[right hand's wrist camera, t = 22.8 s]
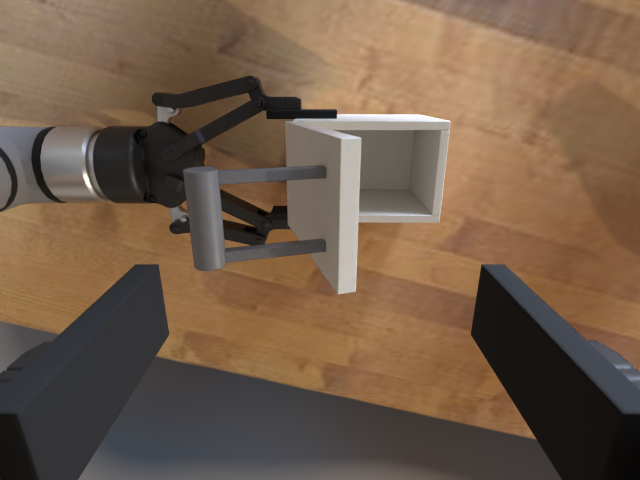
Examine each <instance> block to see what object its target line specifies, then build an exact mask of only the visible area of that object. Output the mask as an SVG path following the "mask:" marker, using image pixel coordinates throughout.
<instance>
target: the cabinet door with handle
mask: <svg viewBox="0 0 640 480" xmlns="http://www.w3.org/2000/svg"><path fill="white" fill-rule="evenodd" d="M285 141H286V167H275V168H255V169H235V170H218V169H217V168H215V167H192V168H187V169H184V170H183V175H184V184H185V192H186V200H187V209H188V217H189V225H190V234H191V242H192V251H193V259H194V267H195V268H196V269H197V270H201V271H213V270H217V269H220V268H222V267H224V266H225V265H226V263H228V262H237V261H246V260H255V259H264V258H273V257H282V256H291V255H300V254H309V255H310V256H311V258H312V259H313V261H314V262H315V263H316V265H317V266H318V268H319V269H320V270H321V272H322V273H323V274H324V276H325V277H326V279H327V280H328V281H329V283H330V284H331V286H332V287H333V288H334V290H335V291H336V293H337V294H344V293H351V292H356V270H357V243H358V215H359V188H360V160H361V138H360V137H356V136H352V135H349V134H345V133H341V132H337V131H333V130H330V129H326V128H322V127H318V126H314V125H311V124H307V123H303V122H299V121H285ZM272 181H287V211H288V226H289V227H290V229H291V230H292V231H293V233H294V234H295V236H296V237H297V238H298V240H299V241H292V242H283V243H273V244H263V245H253V246H243V247H234V248H225V243H224V231H223V220H222V209H221V197H220V186H219V185H222V184H239V183H256V182H272Z"/></svg>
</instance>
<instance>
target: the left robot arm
mask: <svg viewBox="0 0 640 480" xmlns="http://www.w3.org/2000/svg"><path fill="white" fill-rule="evenodd" d="M244 93H249V95H250V98H251V101H249V102H247V103H245V104H244V105H242V106H240V107H238V108H237V109H235V110H233V111H231V112H229V113H228V114H226V115H224V116H222V117H220V118H219V119H217V120H215V121H213V122H212V123H210V124H208V125H206V126H204V127H203V128H201V129H199V130H197V131H195V132H193V133H191V134H189V135H188V134H187V133H185V132H184V131H183V130H181V129H180V128H178V127H177V126H175V125H174V124H172V123H171V119H172V118H173V117H174V116H178V115H180V114H181V112H182V108H186V107H193V106H197V105H201V104H205V103H209V102H213V101H217V100H221V99H224V98H228V97H232V96H236V95H240V94H244ZM152 102H153V103H154V104H155V105H156V106H157V122H156V123H154V124H152V125H151V126H109V127H106V128H102V127H100V126H58V127H12V126H0V212H2V211H5V210H8V209H10V208H13V207H16V206H18V205H22V204H29V203H109V202H111V201H112V202H114V203H158V204H161V205H163V206H165V207H168V208H169V211H170V215H171V219H172V224H171V225H170V227H169V228H170V231H171V232H172V233H174V234H181V233H190V225H189V217H188V210H186V209H184V208H183V207H182V206H181V203H183V202H184V201H185V200H186V192H185V184H184V175H183V170H184V169H187V168H192V167H205V166H204V160H205V150H204V148H202V146H201V145H202V144H204V143H206V142H207V141H209V140H211V139H213V138H214V137H216V136H218V135H220V134H222V133H223V132H225V131H227V130H229V129H231V128H232V127H234V126H236V125H238V124H240V123H242V122H243V121H245V120H247V119H249V118H251V117H252V116H254V115H256V114H258V113H260V112H261V111H266V114H267V119H337V110H336V109H301V99H300V98H297V97H269V96H267V95H266V94H265V93H264V91H263V88H262V86H261V82H260V80H259V79H258V78H256V77H253V76H247V77H243V78H239V79H236V80H232V81H228V82H224V83H220V84H216V85H213V86H209V87H205V88H201V89H197V90H193V91H189V92H186V93H182V94H174V93H155V94H153V96H152ZM220 197H221V209H222V211H224V212H226V213H228V214H230V215H232V216H234V217H237V218H239V219H241V220H243V221H245V222H247V223H249V224H251V225H253V226H249V225H245V224H240V223H236V222H231V221H227V220H223V219H222V220H223V231H224V239H226V240H230V241H235V242H239V243H244V244H249V245H263V244H265V242H266V239H267V236H268V233H269V232H270V231H271V230H273V229H290V227H289V226H288V211H287V206H274V207H273V209H272V211H271V212H270V213H269V212H267V211H265V210H262V209H260V208H258V207H256V206H254V205H252V204H250V203H248V202H246V201H244V200H242V199H240V198H238V197H236V196H233V195H231V194H229V193H227V192H225V191H223V190H221V189H220ZM254 226H256V227H254Z"/></svg>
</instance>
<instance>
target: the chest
mask: <svg viewBox="0 0 640 480" xmlns="http://www.w3.org/2000/svg"><path fill="white" fill-rule="evenodd" d="M293 121H299V122H303V123H307V124H311V125H314V126H318V127H322V128H326V129H330V130H333V131H337V132H341V133H345V134H349V135H352V136H356V137H360V138H361V160H360V188H359V215H358V222H380V223H439V220H440V212H441V203H442V194H443V185H444V176H445V167H446V158H447V149H448V140H449V129H450V121H447V120H443V119H438V118H433V117H429V116H424V115H374V114H337V119H294V120H293Z"/></svg>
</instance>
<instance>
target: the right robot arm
mask: <svg viewBox="0 0 640 480" xmlns="http://www.w3.org/2000/svg"><path fill="white" fill-rule="evenodd" d="M168 335H169V330H168V324H167V317H166V311H165V304H164V298H163V291H162V285H161V278H160V272H159V265H135V266H134V267H132V268H131V269H130V270H129V271H128V272H127V273H126V274H125V275H124V276H123V277H122V278H121V279H119V280H118V281H117V282H116V283H115V284H114V285H113V286H112V287H111V288H110V289H109V290H107V291H106V292H105V293H104V294H103V295H102V296H101V297H100V298H99V299H98V300H97V301H96V302H94V303H93V304H92V305H91V306H90V307H89V308H88V309H87V310H86V311H85V312H84V313H83V314H81V315H80V316H79V317H78V318H77V319H76V320H75V321H74V322H73V323H72V324H71V325H70V326H68V327H67V328H66V329H65V330H64V331H63V332H62V333H61V334H60V335H59V336H58V337H57V338H55V339H54V340H53V341H52V342H43V343H42V344H40V345H38V346H36V347H34V348H33V349H31V350H29V351H27V352H26V353H24V354H22V355H21V356H20V357H19V358H18V359H17V360H16V361H14V362H13V363H12V364H11V365H10V366H9V367H8V368H7V370H6V371H3V372H2V373H1V374H0V480H78V479H79V477H80V475H81V474H82V472H83V471H84V469H85V467H86V466H87V464H88V463H89V461H90V459H91V458H92V456H93V455H94V453H95V452H96V450H97V448H98V447H99V445H100V444H101V442H102V440H103V439H104V437H105V436H106V434H107V433H108V431H109V429H110V428H111V426H112V425H113V423H114V421H115V420H116V418H117V417H118V415H119V413H120V412H121V410H122V409H123V407H124V405H125V404H126V402H127V401H128V399H129V397H130V396H131V394H132V393H133V391H134V390H135V388H136V386H137V385H138V383H139V382H140V380H141V378H142V377H143V375H144V374H145V372H146V370H147V369H148V367H149V366H150V364H151V363H152V361H153V359H154V358H155V356H156V355H157V353H158V351H159V350H160V348H161V347H162V345H163V343H164V342H165V340H166V339H167V337H168ZM471 336H472V337H473V339H474V340H475V342H476V343H477V345H478V347H479V348H480V350H481V351H482V353H483V355H484V356H485V358H486V359H487V361H488V363H489V364H490V366H491V367H492V369H493V371H494V372H495V374H496V375H497V377H498V378H499V380H500V382H501V383H502V385H503V386H504V388H505V390H506V391H507V393H508V394H509V396H510V398H511V399H512V401H513V402H514V404H515V405H516V407H517V409H518V410H519V412H520V413H521V415H522V417H523V418H524V420H525V421H526V423H527V425H528V426H529V428H530V429H531V431H532V433H533V434H534V436H535V437H536V439H537V440H538V442H539V444H540V445H541V447H542V448H543V450H544V452H545V453H546V455H547V456H548V458H549V459H550V461H551V463H552V464H553V466H554V468H555V469H556V471H557V472H558V474H559V475H560V477H561V479H562V480H640V372H639V371H638V370H637V369H634V368H633V366H632V365H631V364H630V363H629V362H628V361H627V360H625V359H624V358H623V357H622V356H621V355H620V354H618V353H617V352H616V351H614V350H612V349H610V348H608V347H607V346H605V345H603V344H601V343H599V342H598V341H596V340H586V339H585V338H583V337H582V336H581V335H580V334H579V333H578V332H577V331H576V330H575V329H574V328H573V327H572V326H570V325H569V324H568V323H567V322H566V321H565V320H564V319H563V318H562V317H561V316H560V315H559V314H557V313H556V312H555V311H554V310H553V309H552V308H551V307H550V306H549V305H548V304H547V303H546V302H544V301H543V300H542V299H541V298H540V297H539V296H538V295H537V294H536V293H535V292H534V291H532V290H531V289H530V288H529V287H528V286H527V285H526V284H525V283H524V282H523V281H522V280H521V279H519V278H518V277H517V276H516V275H515V274H514V273H513V272H512V271H511V270H510V269H509V268H508V267H506V266H505V265H481V272H480V278H479V285H478V291H477V298H476V304H475V311H474V317H473V324H472V330H471Z"/></svg>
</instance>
